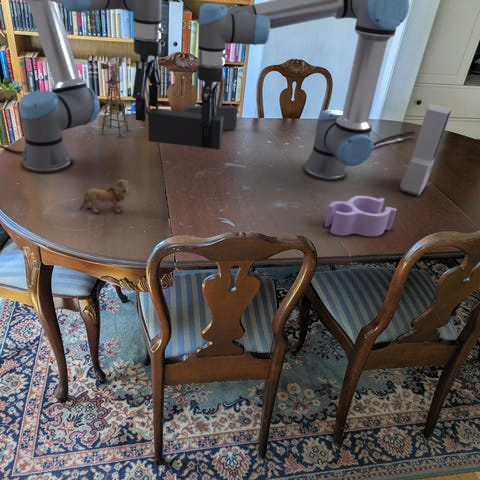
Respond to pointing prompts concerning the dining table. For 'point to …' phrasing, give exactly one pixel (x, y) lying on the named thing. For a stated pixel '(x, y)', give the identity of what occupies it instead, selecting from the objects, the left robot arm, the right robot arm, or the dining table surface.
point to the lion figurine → (107, 195)
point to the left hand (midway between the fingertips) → (147, 113)
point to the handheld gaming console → (220, 114)
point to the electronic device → (425, 149)
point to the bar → (182, 128)
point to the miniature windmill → (112, 82)
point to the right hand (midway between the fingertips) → (207, 143)
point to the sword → (390, 142)
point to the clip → (359, 216)
